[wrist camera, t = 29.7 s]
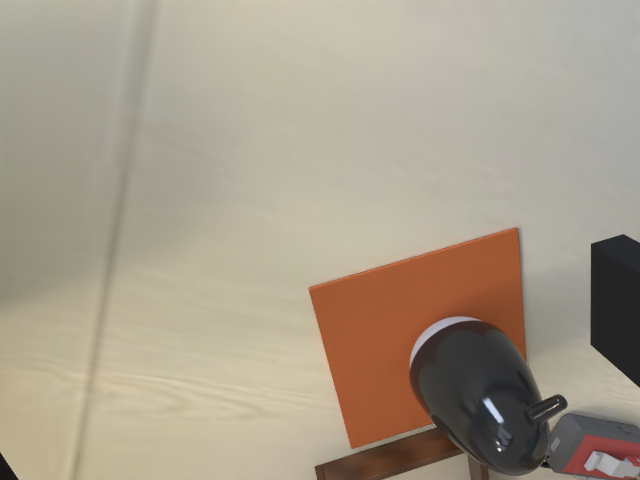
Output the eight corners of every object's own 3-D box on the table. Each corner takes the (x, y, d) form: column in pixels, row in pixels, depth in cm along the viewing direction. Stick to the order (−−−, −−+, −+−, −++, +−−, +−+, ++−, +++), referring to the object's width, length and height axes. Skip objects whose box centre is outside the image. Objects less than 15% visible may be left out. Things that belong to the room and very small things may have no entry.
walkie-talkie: (520, 466, 61) (645, 484, 67) (541, 498, 57) (673, 514, 63) (555, 408, 59) (683, 432, 65) (580, 437, 55) (714, 459, 61)
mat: (350, 446, 55) (351, 449, 55) (308, 287, 47) (309, 289, 46) (526, 390, 57) (528, 393, 56) (515, 227, 48) (518, 229, 48)
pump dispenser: (514, 320, 52) (622, 430, 38) (455, 398, 55) (536, 527, 41) (435, 282, 49) (523, 388, 35) (377, 368, 51) (437, 497, 37)
